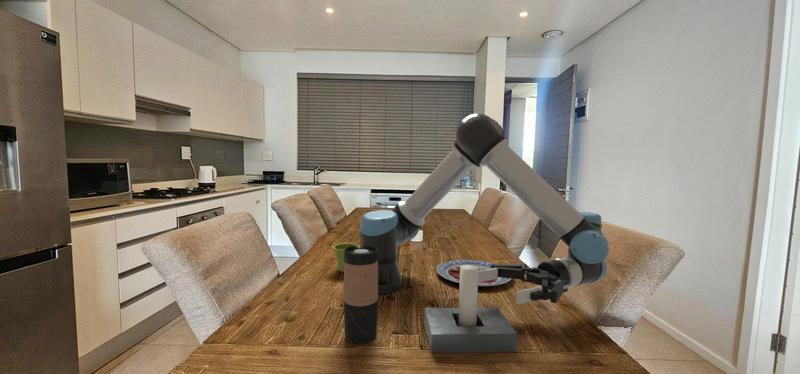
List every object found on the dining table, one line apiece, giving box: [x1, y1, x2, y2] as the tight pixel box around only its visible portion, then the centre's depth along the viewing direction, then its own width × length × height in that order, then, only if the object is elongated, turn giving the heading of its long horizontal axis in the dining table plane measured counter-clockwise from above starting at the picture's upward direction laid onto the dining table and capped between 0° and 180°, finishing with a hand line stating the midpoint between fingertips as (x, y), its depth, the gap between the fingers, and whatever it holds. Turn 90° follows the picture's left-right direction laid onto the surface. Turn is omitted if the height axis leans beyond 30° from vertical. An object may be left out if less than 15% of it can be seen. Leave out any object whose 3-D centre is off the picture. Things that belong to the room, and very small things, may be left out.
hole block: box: [423, 306, 518, 354], centre depth 72 cm, size 18×12×4 cm, turn 92°
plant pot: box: [332, 243, 360, 273], centre depth 115 cm, size 9×9×9 cm
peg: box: [458, 265, 479, 327], centre depth 71 cm, size 4×4×16 cm
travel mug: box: [343, 245, 379, 345], centre depth 71 cm, size 8×8×20 cm
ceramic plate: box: [436, 259, 512, 287], centre depth 111 cm, size 26×26×3 cm
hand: (495, 286), depth 74 cm, fingers open, 13 cm apart
